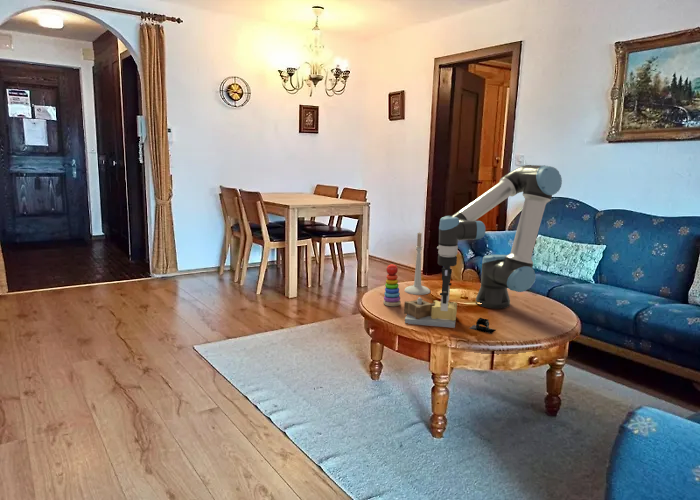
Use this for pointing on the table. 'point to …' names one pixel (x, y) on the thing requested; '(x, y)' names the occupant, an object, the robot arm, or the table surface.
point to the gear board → (429, 320)
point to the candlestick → (418, 273)
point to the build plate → (481, 328)
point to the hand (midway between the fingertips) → (445, 305)
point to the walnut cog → (418, 309)
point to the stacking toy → (392, 287)
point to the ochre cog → (444, 314)
